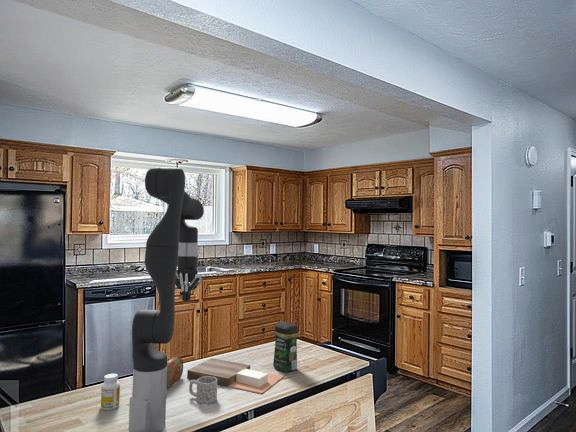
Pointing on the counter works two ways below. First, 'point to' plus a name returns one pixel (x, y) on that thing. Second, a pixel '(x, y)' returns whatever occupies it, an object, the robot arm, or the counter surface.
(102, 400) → the supplement bottle
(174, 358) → the tin
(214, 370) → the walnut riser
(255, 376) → the cream block
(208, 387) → the mug
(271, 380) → the terracotta mat
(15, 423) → the counter surface
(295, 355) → the coffee jar
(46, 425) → the counter surface
